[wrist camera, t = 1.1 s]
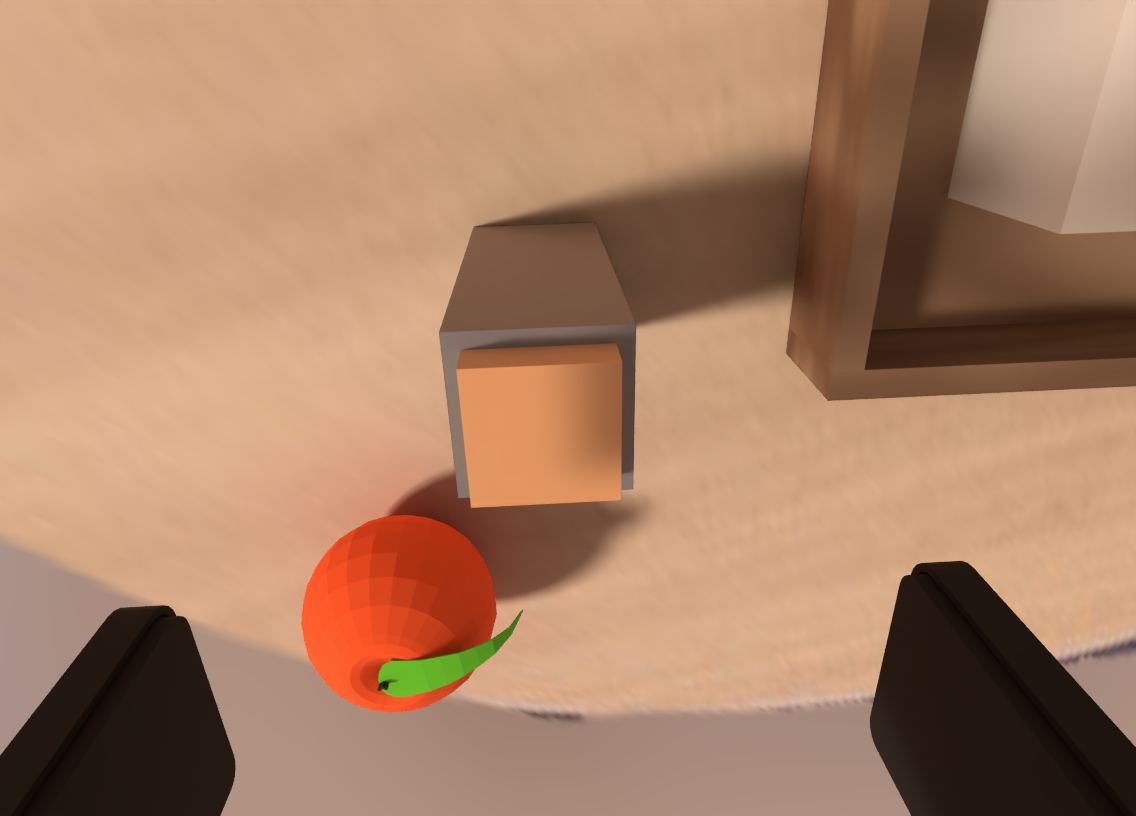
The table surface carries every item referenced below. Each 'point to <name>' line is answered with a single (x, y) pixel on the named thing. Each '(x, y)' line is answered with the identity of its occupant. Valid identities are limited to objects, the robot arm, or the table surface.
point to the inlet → (1053, 116)
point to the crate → (936, 235)
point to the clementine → (400, 613)
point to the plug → (539, 368)
